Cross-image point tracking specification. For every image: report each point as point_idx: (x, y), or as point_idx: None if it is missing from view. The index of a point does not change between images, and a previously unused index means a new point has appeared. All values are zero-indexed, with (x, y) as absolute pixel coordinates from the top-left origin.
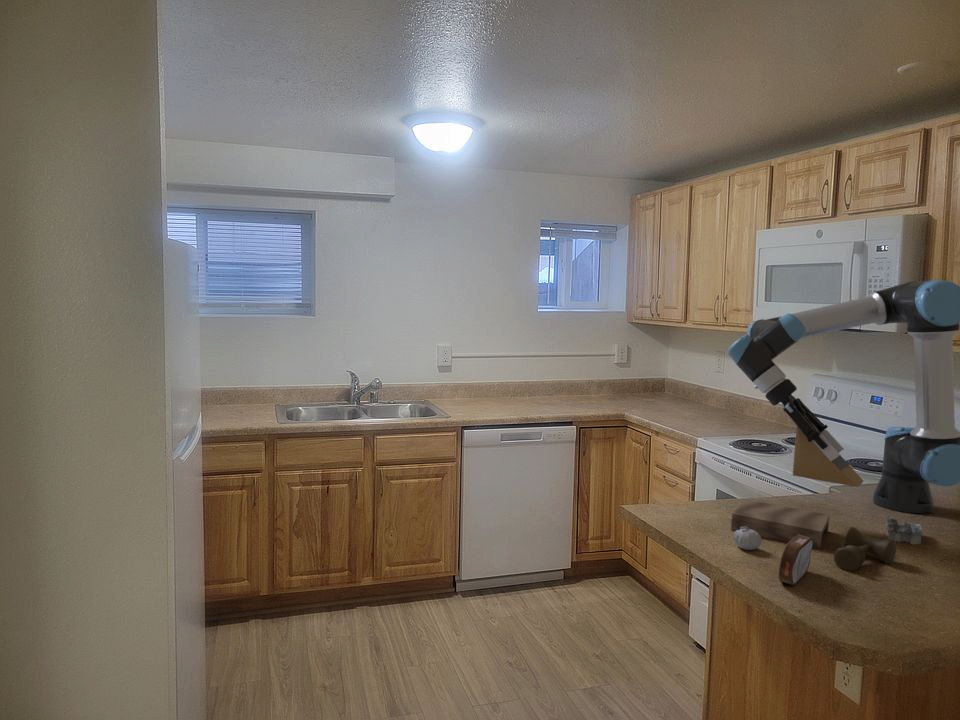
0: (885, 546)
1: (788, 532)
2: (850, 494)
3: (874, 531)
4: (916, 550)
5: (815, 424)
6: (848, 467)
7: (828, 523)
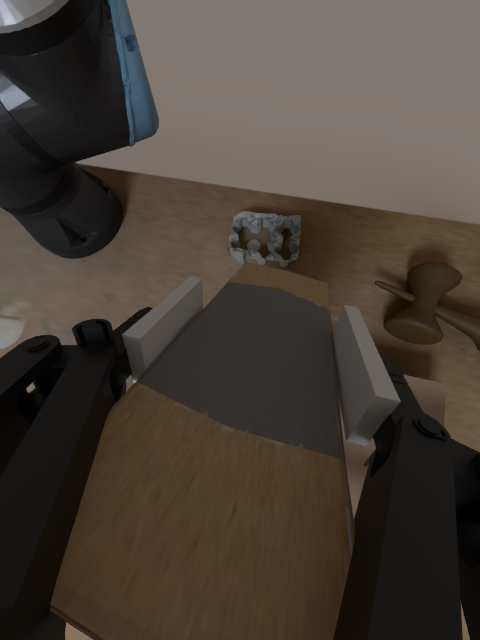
0: (460, 281)
1: None
2: (35, 287)
3: None
4: (327, 238)
5: (101, 412)
6: (276, 287)
7: None
